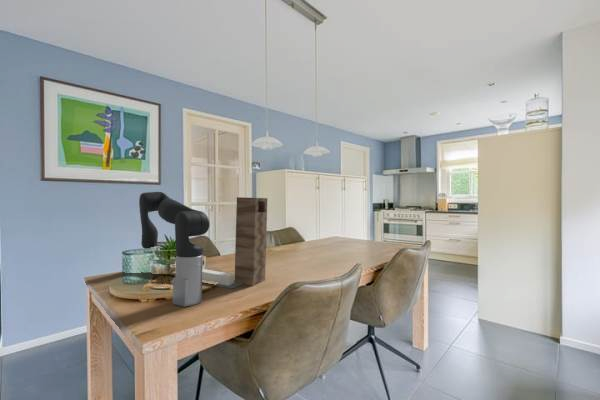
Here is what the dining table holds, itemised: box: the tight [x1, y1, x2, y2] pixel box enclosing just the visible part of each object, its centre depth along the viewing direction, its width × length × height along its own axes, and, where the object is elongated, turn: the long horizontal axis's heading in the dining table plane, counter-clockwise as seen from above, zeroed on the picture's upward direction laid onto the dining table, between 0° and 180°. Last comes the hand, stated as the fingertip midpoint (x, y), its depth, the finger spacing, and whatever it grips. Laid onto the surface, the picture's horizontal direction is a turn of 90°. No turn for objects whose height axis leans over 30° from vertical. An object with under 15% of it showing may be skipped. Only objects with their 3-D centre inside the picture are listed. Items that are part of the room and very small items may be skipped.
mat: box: [214, 281, 243, 290], centre depth 126 cm, size 7×25×1 cm, turn 66°
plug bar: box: [202, 268, 235, 286], centre depth 126 cm, size 4×22×4 cm, turn 66°
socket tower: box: [234, 196, 268, 287], centre depth 128 cm, size 10×10×38 cm
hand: (196, 264), depth 130 cm, fingers open, 8 cm apart
